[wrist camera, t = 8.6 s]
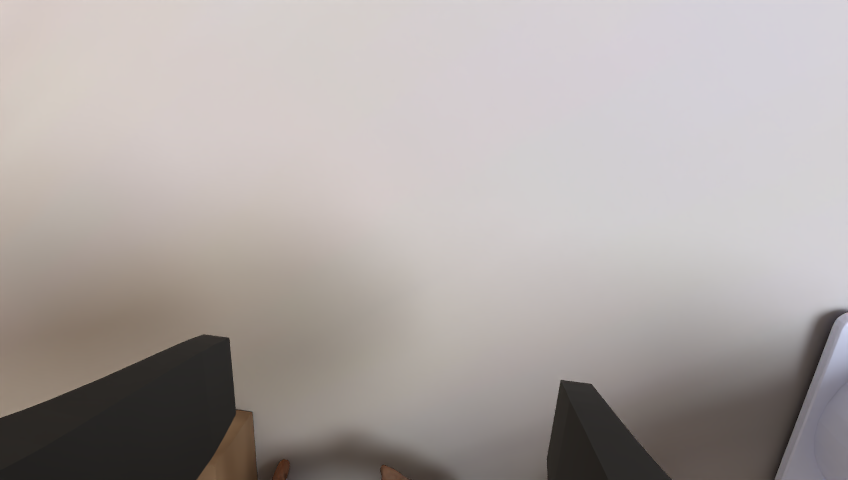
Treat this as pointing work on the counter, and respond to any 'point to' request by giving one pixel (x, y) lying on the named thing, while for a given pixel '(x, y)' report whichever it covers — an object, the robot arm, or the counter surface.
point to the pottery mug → (389, 475)
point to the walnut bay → (234, 452)
